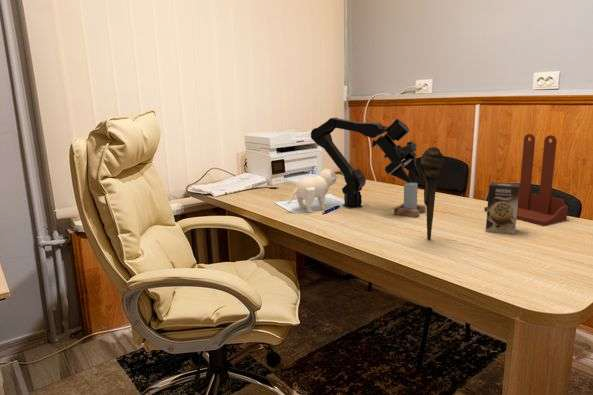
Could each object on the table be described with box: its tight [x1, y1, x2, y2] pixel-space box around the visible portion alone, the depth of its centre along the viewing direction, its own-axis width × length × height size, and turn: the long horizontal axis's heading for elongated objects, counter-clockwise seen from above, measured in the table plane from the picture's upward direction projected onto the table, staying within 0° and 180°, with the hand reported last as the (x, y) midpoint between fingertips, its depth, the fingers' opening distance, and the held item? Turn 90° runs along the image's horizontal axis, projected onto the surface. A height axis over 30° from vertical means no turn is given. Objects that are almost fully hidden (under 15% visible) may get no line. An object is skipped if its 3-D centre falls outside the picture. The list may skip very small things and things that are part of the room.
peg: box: [403, 182, 418, 210], centre depth 167 cm, size 4×4×12 cm
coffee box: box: [484, 181, 520, 235], centre depth 142 cm, size 9×6×16 cm
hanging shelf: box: [483, 133, 569, 227], centre depth 156 cm, size 24×13×30 cm, turn 27°
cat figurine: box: [285, 167, 338, 213], centre depth 178 cm, size 25×10×17 cm, turn 115°
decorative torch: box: [420, 146, 445, 241], centre depth 134 cm, size 7×7×30 cm
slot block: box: [393, 202, 427, 219], centre depth 168 cm, size 9×10×2 cm
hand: (414, 179), depth 166 cm, fingers open, 9 cm apart
